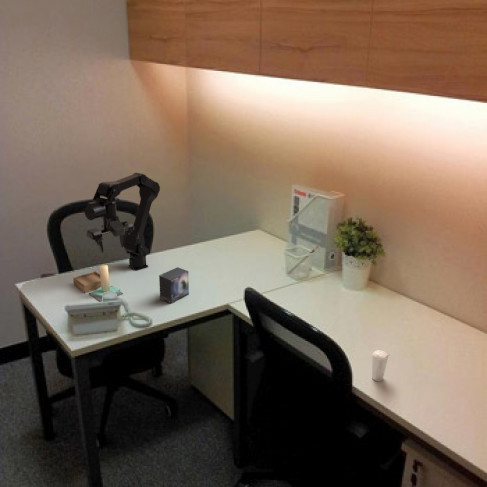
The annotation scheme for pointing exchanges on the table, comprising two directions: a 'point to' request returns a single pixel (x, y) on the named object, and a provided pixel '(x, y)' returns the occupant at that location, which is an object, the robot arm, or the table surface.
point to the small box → (174, 285)
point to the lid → (104, 283)
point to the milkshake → (379, 365)
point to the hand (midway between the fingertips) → (112, 249)
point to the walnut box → (88, 282)
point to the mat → (101, 298)
